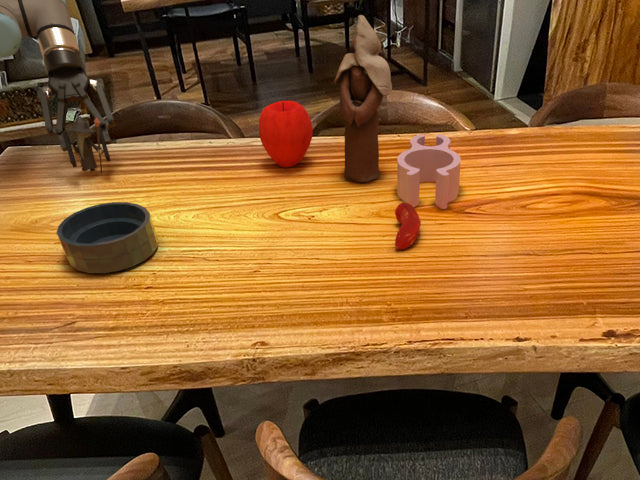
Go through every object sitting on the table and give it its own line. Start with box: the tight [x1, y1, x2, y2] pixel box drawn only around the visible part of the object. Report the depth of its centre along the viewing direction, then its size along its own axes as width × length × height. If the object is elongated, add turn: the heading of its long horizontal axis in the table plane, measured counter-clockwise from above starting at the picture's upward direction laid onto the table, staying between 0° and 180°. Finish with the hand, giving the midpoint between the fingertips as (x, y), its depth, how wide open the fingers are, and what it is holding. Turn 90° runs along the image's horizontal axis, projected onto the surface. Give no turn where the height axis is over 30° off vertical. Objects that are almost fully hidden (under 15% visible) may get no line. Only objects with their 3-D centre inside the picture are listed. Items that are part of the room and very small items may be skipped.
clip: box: [396, 133, 462, 210], centre depth 127 cm, size 20×12×7 cm, turn 175°
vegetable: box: [394, 202, 422, 250], centre depth 113 cm, size 4×5×12 cm
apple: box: [258, 100, 314, 168], centre depth 135 cm, size 12×12×13 cm
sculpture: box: [333, 14, 393, 183], centre depth 124 cm, size 12×13×30 cm
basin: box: [56, 201, 159, 274], centre depth 111 cm, size 16×16×6 cm
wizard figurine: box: [65, 115, 104, 174], centre depth 133 cm, size 8×6×12 cm
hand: (90, 161), depth 132 cm, fingers closed on wizard figurine, 6 cm apart
